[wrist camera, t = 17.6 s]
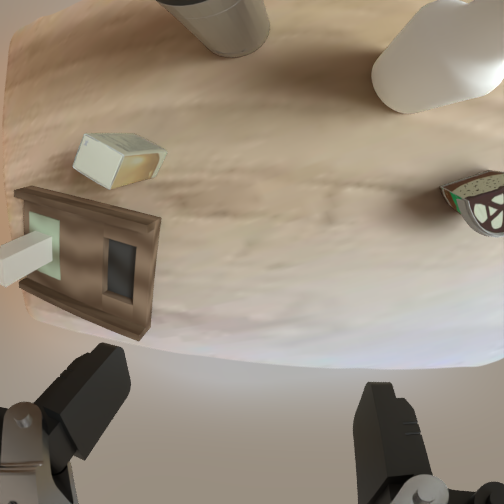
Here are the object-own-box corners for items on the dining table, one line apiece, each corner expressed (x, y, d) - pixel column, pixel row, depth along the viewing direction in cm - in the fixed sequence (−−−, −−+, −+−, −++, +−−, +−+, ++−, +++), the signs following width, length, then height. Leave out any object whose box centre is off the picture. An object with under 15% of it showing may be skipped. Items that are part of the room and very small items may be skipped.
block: (35, 230, 46) (-14, 251, 34) (52, 236, 45) (2, 260, 34) (36, 253, 47) (-10, 278, 36) (52, 260, 47) (5, 287, 36)
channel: (31, 185, 46) (14, 190, 41) (161, 217, 44) (147, 225, 39) (33, 278, 52) (19, 287, 48) (150, 327, 50) (138, 341, 46)
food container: (439, 232, 38) (472, 255, 29) (430, 189, 36) (464, 202, 27) (503, 208, 35) (542, 224, 26) (496, 167, 33) (537, 175, 24)
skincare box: (123, 159, 42) (69, 166, 30) (134, 132, 40) (82, 131, 29) (157, 179, 42) (108, 192, 30) (170, 151, 40) (123, 155, 29)
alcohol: (367, 48, 32) (463, -93, 4) (428, 57, 31) (574, -29, 3) (371, 111, 35) (513, 42, 7) (433, 118, 33) (611, 99, 5)
